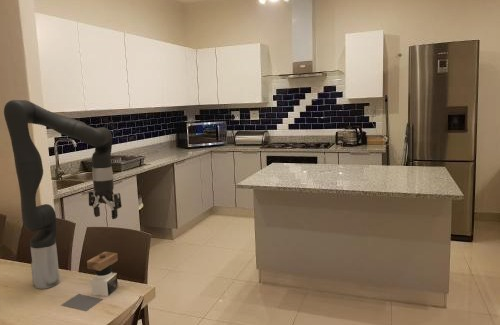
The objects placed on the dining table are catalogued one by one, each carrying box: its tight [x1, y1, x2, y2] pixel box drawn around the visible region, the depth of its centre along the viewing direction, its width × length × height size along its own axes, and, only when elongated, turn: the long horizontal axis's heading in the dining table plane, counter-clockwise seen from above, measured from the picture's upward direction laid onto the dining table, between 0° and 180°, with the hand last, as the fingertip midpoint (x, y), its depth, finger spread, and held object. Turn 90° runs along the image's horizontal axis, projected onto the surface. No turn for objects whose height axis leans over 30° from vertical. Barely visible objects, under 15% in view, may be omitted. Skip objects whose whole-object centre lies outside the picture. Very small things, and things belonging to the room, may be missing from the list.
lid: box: [86, 251, 119, 271], centre depth 155 cm, size 6×10×4 cm, turn 159°
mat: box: [60, 293, 104, 312], centre depth 149 cm, size 12×9×1 cm
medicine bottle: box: [90, 264, 119, 297], centre depth 156 cm, size 7×7×12 cm
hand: (106, 217), depth 161 cm, fingers open, 8 cm apart
